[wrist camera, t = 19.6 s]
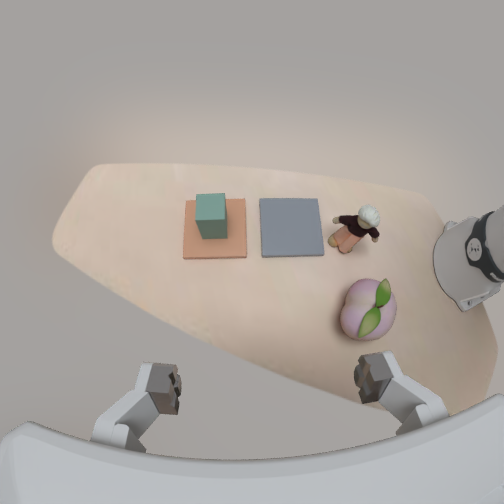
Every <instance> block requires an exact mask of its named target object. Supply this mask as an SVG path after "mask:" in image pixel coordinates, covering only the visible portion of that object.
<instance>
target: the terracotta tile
mask: <svg viewBox="0 0 504 504" xmlns="http://www.w3.org/2000/svg"><path fill="white" fill-rule="evenodd" d="M225 200H226V208H227V234H228V239H202V237H201V234H200V231H199V229H198V226H197V224H196V221H195V213H196V200H191V201H186V210H185V226H184V246H183V258H184V259H214V258H246V220H245V199H225Z"/></svg>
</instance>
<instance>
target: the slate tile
mask: <svg viewBox="0 0 504 504" xmlns="http://www.w3.org/2000/svg"><path fill="white" fill-rule="evenodd" d="M260 221H261V243H262V257H298V256H323V255H324V245H323V237H322V229H321V221H320V213H319V206H318V199H303V198H264V199H260Z"/></svg>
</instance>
